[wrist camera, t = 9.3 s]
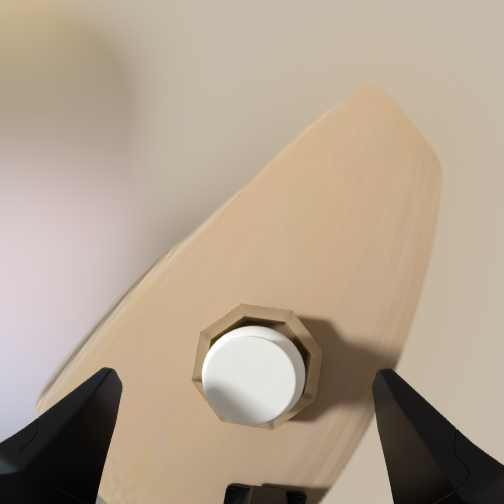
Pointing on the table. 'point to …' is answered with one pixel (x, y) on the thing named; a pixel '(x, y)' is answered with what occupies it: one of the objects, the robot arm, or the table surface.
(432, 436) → the robot arm
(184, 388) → the table surface
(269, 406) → the supplement bottle
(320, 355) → the can holder
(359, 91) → the table surface
